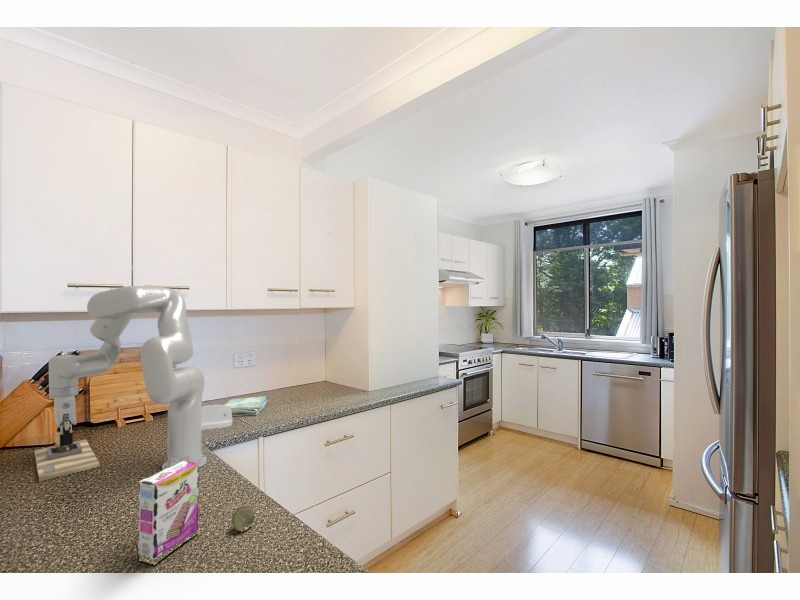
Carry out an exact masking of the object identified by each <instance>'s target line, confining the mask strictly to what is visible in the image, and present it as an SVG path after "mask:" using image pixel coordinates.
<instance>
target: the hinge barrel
mask: <svg viewBox="0 0 800 600" xmlns="http://www.w3.org/2000/svg"><path fill="white" fill-rule="evenodd" d="M72 432H73V429H72ZM54 434H55V446H56V453H59V452H63V451H68V450H73V444H71V445H67V446H62V447H61V446H60V434H61V431H59V432H57V431H56V432H55V433H54Z"/></svg>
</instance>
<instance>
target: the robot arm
mask: <svg viewBox="0 0 800 600" xmlns="http://www.w3.org/2000/svg"><path fill="white" fill-rule="evenodd" d="M86 305H87V306H86V310H87V313H88V315H89V316H91V317H92V318H94V319H95V320H94V322H93V323H92V324H91V325H90V330H89V331H90V334H91V335H92V336H93V337H95V338H96V339H97V340H100V341H101V342H103V343H102V345H101V346H100V348H99V349H98V350H97V352H92V353H85V354H80V355H79V354H78V355H75V354H63V355H62V354H61V355H54V356H52V357H50V358H49V360H48V392H49V393H48V397H49V398H48V399H53V408H54V409H53V410H54V419H55V420H54V421H55V424H56V427H57V428H56V432H59V431H61V434H60V446H61V447H62V446H67V445H71V444H73V442H74V437H73V436H74V435H73V434H74V433H73V432H72V430H73V429H72V425H73V426H76V425H77V407H76V404H77V403H76V396H78V395H79V379H81V378H86V377H89V376H95V375H99V374H103V373H106V372H107V371H108V370H109V369H110V368H111V367H112V366H113V365H114V364H115V362H116V360H118V358H119V356H120V353H121V350H122V349H121V348H122V345H121V344H122V343H121V340H120V337H121V335H122V334H123V333H124V331H125V329H126V328H127V327H128V325H129V323H130V322H131V321H132V319H133V317H134V316H135V315H136V314H146V313H147V314H149V313H160V314H159V315H158V319H157V330H158V336H154V337H151V338H149V339H148V340H146V341H145V342H144V343H143V344H142V347H141V349H140V354H139V360H140V366H141V369H142V376H143V377H142V378H143V381H144V386H145V390H146V393H147V396H148V397H149V399H150V401H152V402H153V403H155V404H156V405H168V404H169V405H168V410H167V461H165V462H164V463H163V464H162V466H161V471H163V470H165V469H167V468H169V467H171V466H173V465H175V464H177V463H179V462H182V461H187V462H194V463H199V469H200V468H202V467H203V466H205V464H206V463H207V461H208V457H207V456H206V455H205V454H202V452H203V451H202V447H203V446H202V440H203V439H202V438H203V437H202V430H201V407H202V402H203V401H202V400H203V393H204V388H205V377H204V376H205V375H204V373H203V372H202V371H201V370H200V368H197V367H195V366H182V367H179V368H174V366H175V365H179V364H182V363H186V362H188V361H190V360H191V358H192V357H193V355H194V346H193V340H192V337H191V330H190V326H189V322H188V318H187V317H188V316H187V305H186V302H185V298H184V297H183V295H182V294H181V293H180V292H179V291H177V290H176V289H173V288H170V287H165V286H148V285H147V286H145V285H143V286H142V285H129V286H122V287H121V286H120V287H118V288H114V289H109V290H104V291H99V292H97V293H94V294H93V296H91V297H90V298H89V300H88V302H87V304H86Z"/></svg>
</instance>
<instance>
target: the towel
mask: <svg viewBox="0 0 800 600" xmlns="http://www.w3.org/2000/svg"><path fill="white" fill-rule="evenodd" d="M267 403H268V397H267V396H266V395H262V396H253V397H252V396H251V397H244V398H243V397H242V398H240V397H239V398H233V399H232V398H231V399H229V400H228V401H227V402H226V403H225V404H224V405H225V406H229V407H230V408H231V412H232V417H242V416H243V415H244V416H251V415H254V416H257V415H256V414H259V413H260V411H261V410H262V409H263V408H265V407H266V405H267ZM263 410H264V409H263ZM263 410H262V411H263ZM262 411H261V412H262ZM260 414H261V413H260ZM260 414H259V415H260ZM244 416H243V417H244Z"/></svg>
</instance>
